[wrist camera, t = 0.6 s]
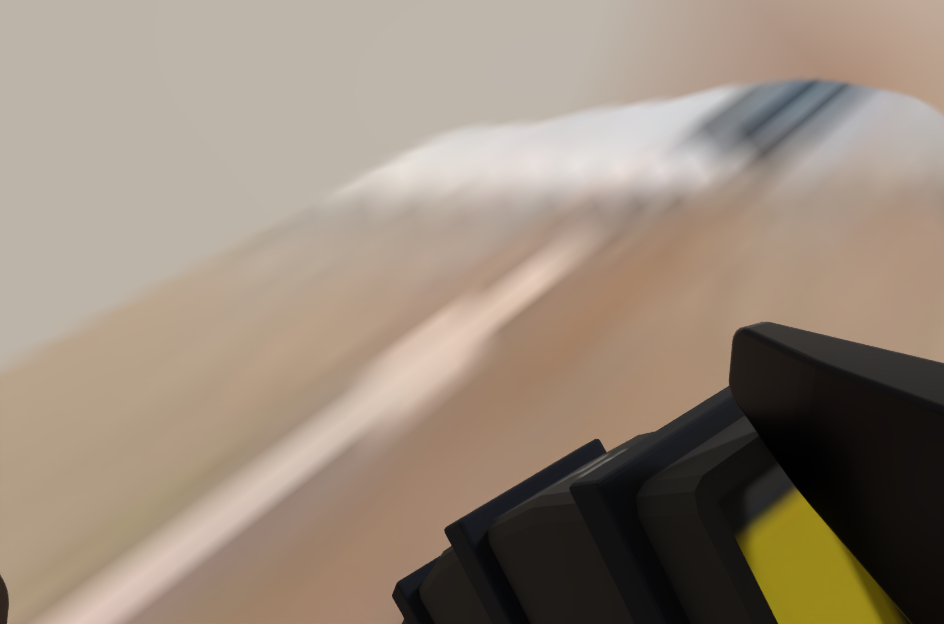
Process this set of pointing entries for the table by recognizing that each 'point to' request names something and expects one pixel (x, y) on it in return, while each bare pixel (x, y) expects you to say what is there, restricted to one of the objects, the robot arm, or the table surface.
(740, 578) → the black flat block
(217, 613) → the table surface
